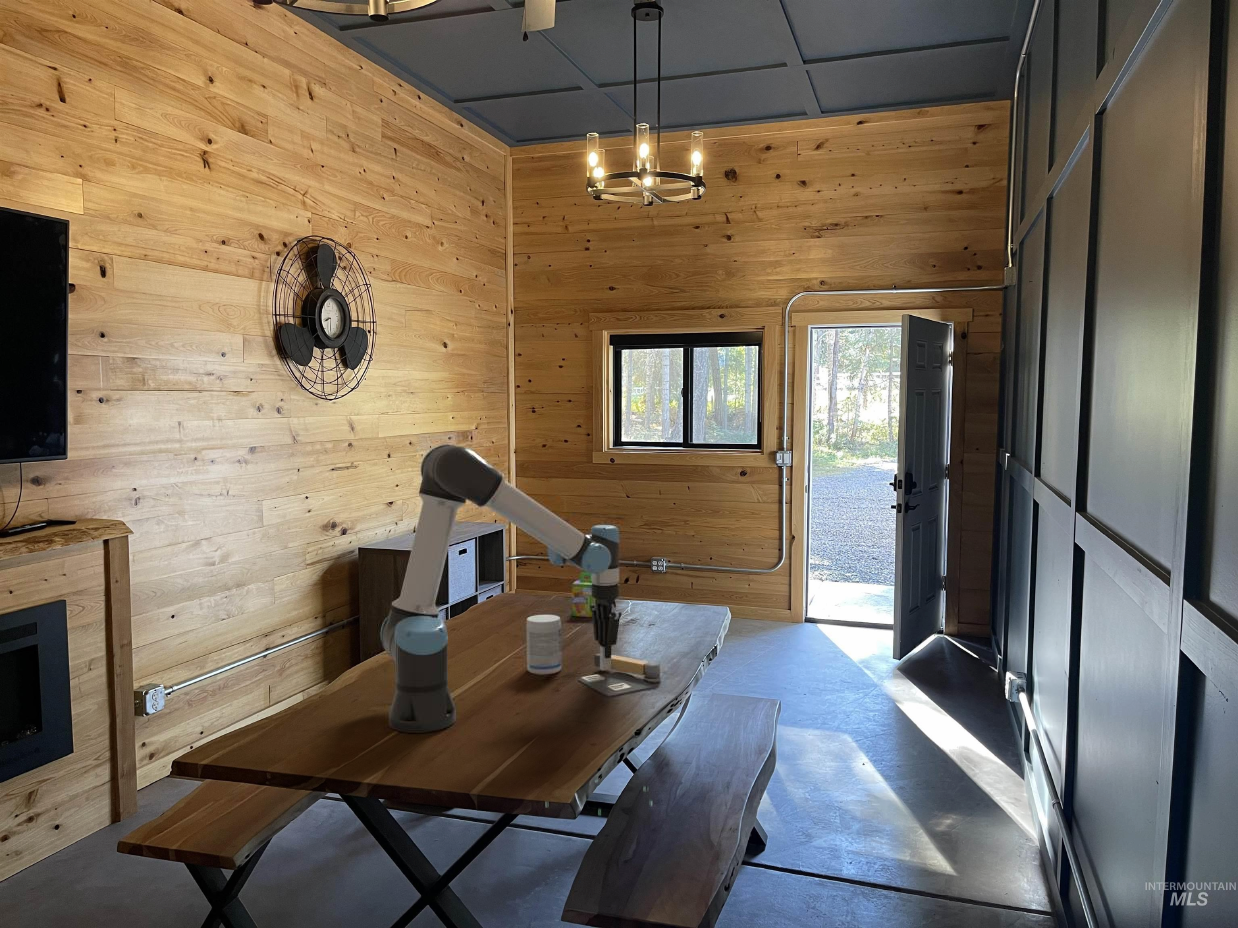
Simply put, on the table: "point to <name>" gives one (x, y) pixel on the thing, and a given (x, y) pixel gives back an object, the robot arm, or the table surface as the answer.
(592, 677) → the label
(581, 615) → the chalk box
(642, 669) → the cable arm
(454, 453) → the robot arm
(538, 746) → the table surface
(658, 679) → the pivot post
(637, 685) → the mat
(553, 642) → the supplement tub
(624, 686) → the label
